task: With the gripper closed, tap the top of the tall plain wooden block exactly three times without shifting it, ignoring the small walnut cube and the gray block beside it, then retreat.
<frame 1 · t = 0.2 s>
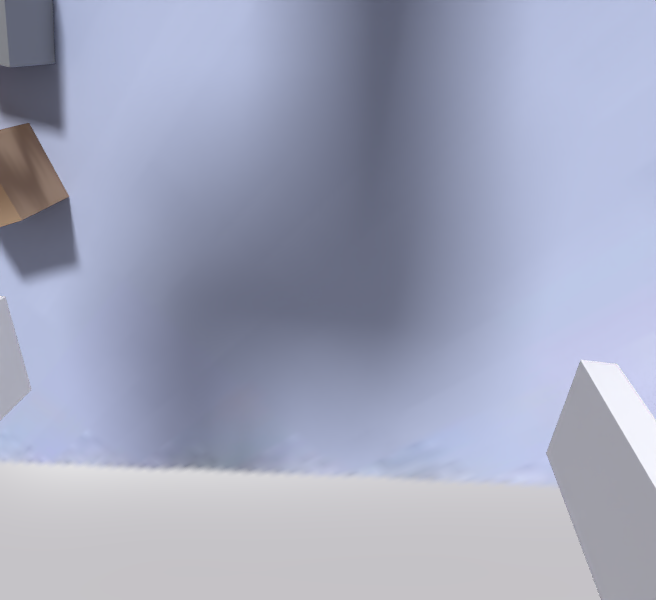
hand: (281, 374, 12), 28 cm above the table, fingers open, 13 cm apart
walnut cube: (19, 171, 40), on the table
gray block: (18, 0, 34), on the table
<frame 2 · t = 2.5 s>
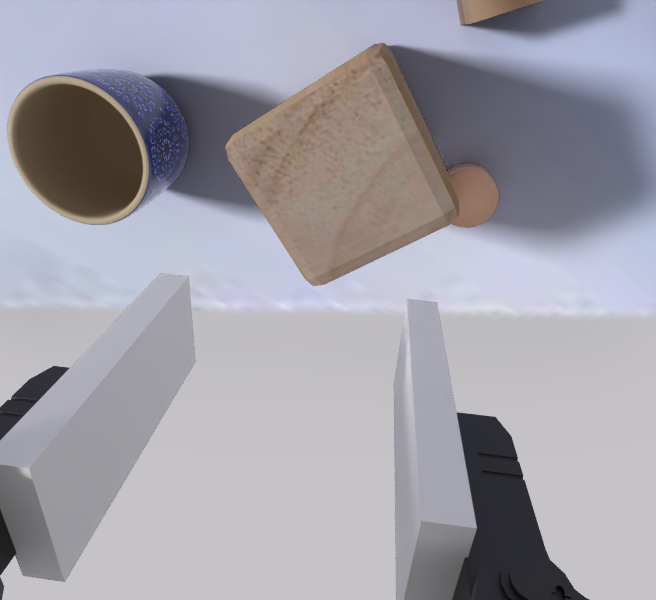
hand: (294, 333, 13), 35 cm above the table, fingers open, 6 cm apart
planter: (145, 129, 46), on the table
terracotta puck: (464, 190, 46), on the table
wooden block: (360, 124, 44), on the table
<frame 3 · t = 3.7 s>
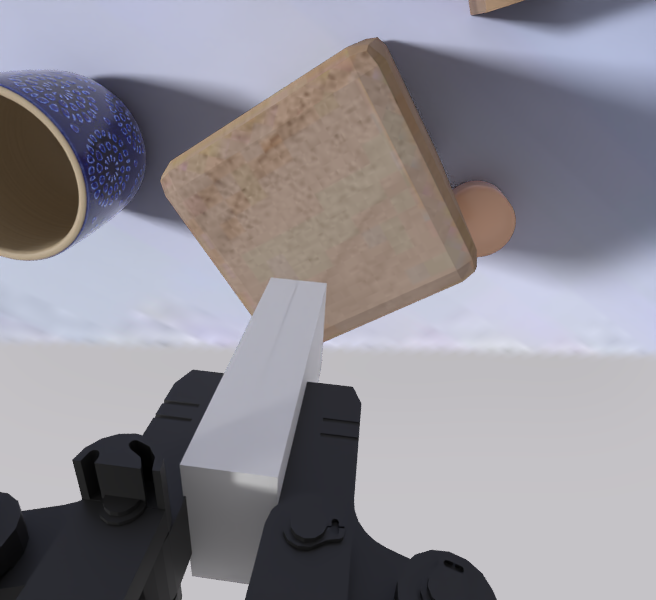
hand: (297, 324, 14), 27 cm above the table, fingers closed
planter: (96, 140, 39), on the table
terracotta puck: (473, 212, 39), on the table
wooden block: (350, 134, 37), on the table
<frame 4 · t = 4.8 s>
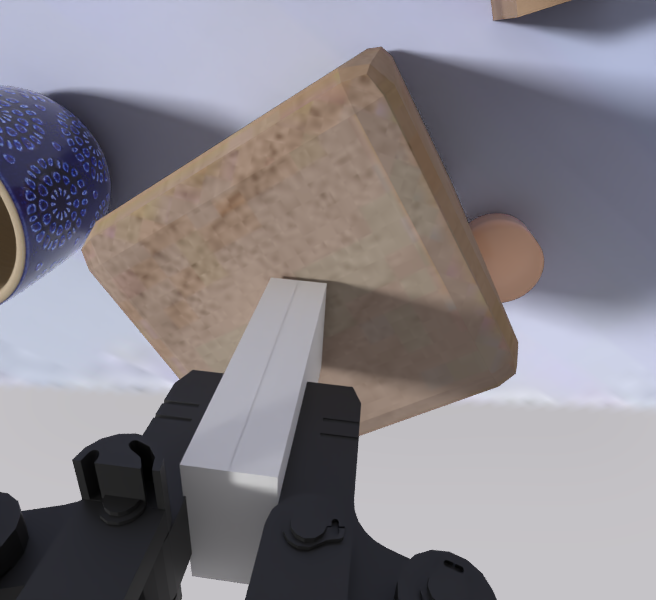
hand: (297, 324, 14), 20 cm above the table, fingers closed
planter: (55, 164, 34), on the table
terracotta puck: (492, 248, 33), on the table
wooden block: (349, 159, 32), on the table, touching gripper
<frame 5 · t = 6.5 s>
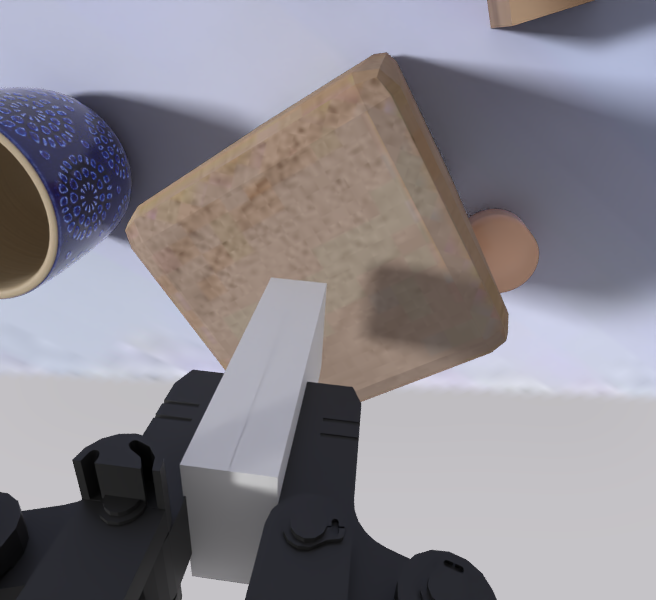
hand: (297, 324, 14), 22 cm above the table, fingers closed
planter: (78, 162, 36), on the table
terracotta puck: (490, 242, 35), on the table
wooden block: (356, 158, 34), on the table
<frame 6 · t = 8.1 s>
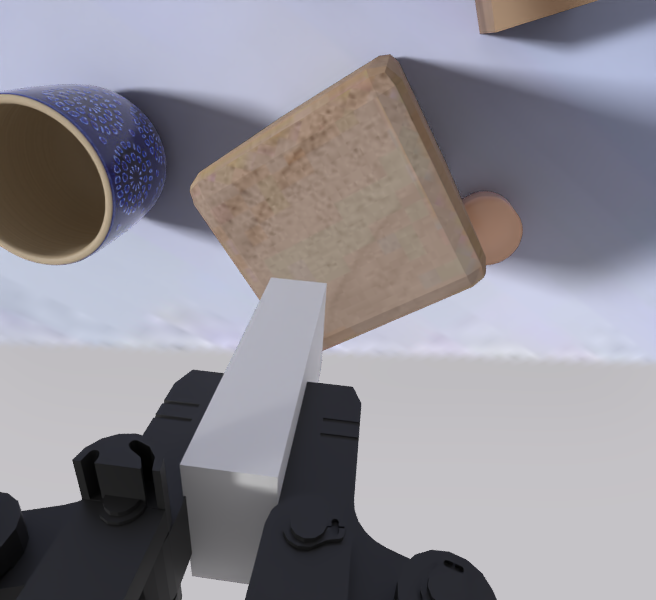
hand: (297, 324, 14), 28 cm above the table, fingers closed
planter: (118, 150, 41), on the table
terracotta puck: (481, 221, 40), on the table
wooden block: (363, 146, 38), on the table
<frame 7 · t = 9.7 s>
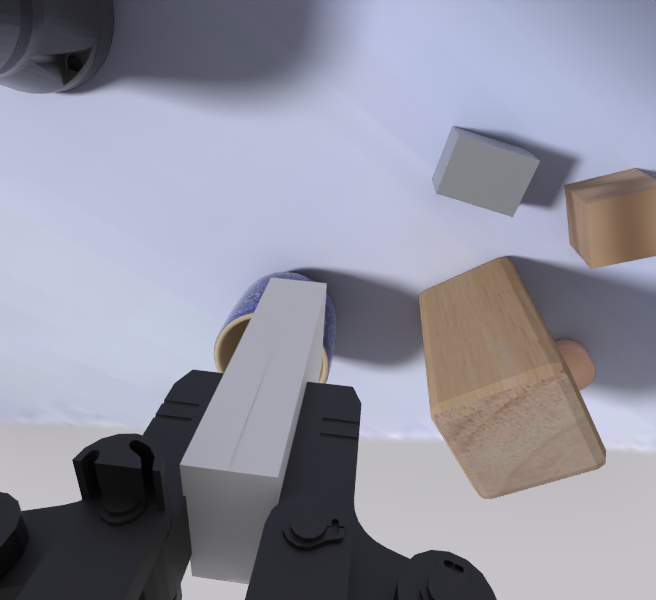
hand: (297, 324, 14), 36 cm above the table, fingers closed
planter: (292, 304, 56), on the table
terracotta puck: (561, 357, 55), on the table
walnut cube: (601, 207, 47), on the table
gray block: (477, 164, 46), on the table
wooden block: (478, 308, 53), on the table
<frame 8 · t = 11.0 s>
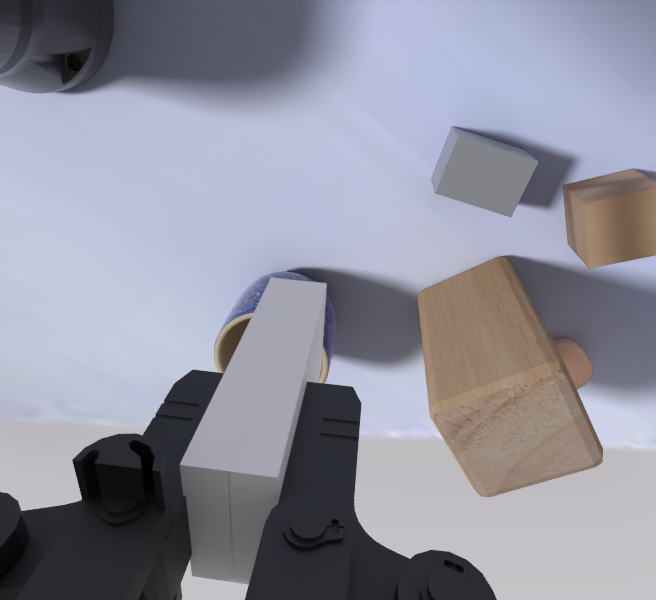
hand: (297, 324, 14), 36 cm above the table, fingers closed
planter: (292, 303, 56), on the table
terracotta puck: (558, 356, 55), on the table
walnut cube: (598, 207, 47), on the table
gray block: (476, 164, 46), on the table
wooden block: (476, 307, 53), on the table
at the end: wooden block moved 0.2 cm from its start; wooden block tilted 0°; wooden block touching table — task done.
